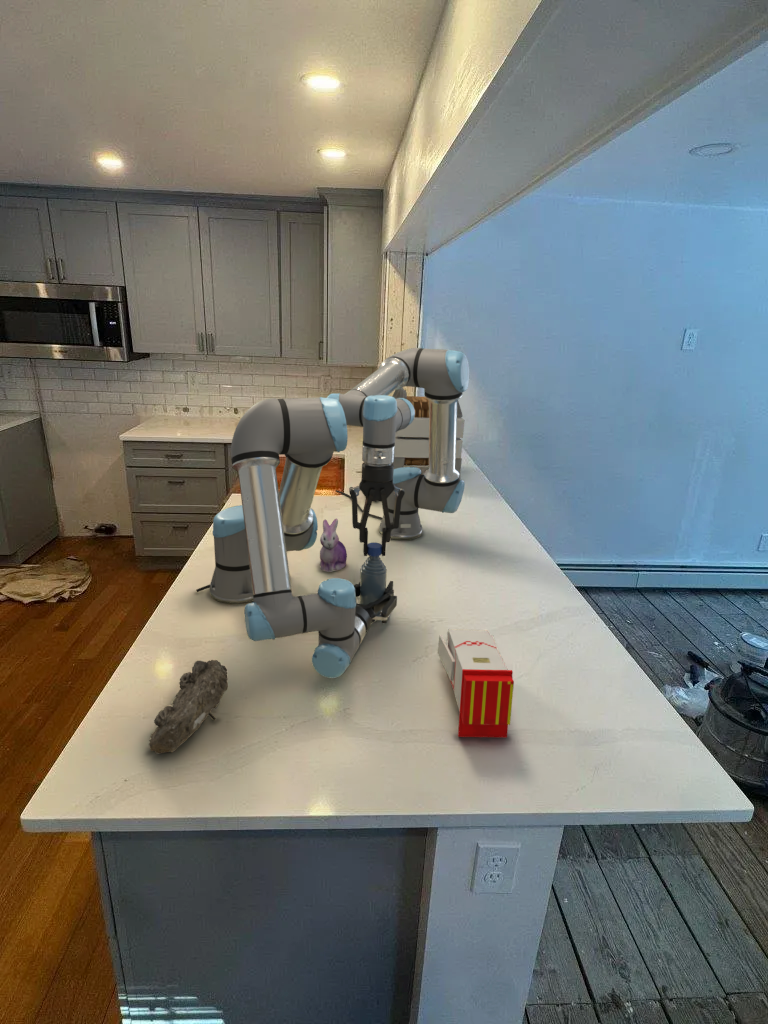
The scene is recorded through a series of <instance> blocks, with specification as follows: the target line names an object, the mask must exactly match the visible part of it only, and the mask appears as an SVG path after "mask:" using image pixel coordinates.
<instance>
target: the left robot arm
mask: <svg viewBox="0 0 768 1024" xmlns="http://www.w3.org/2000/svg"><path fill="white" fill-rule="evenodd" d="M348 439H349V438H348V425H347V424H346V418H345V414H344V411H343V408H342V405H341V404H340V402H339V401H338V400H336V399H334V398H327V397H323V396H319V397H296V398H294V397H292V398H275V397H273V398H266V399H263V400H260V401H258V402H256V403H254V404H253V405H252V406H250V407H249V408H248V410H246V411H245V413H244V414H243V415H242V416H241V418H240V419H239V421H238V423H237V424H236V428H235V430H234V433H233V436H232V440H231V444H230V445H231V446H230V461H231V467H232V469H233V470H234V471H236V472H237V475H238V482H239V491H240V498H241V499H240V500H241V505H234V506H230V507H227V508H224V509H222V510H221V511H219V512H217V514H216V515H215V516H214V517H213V520H212V537H213V549H214V563H215V564H214V570H213V573H212V577H211V580H210V583H209V584H207V585H204V586H202V587H198V588H197V589H196V590H195V591H196V593H199V592H202V591H205V590H207V589H209V594H210V596H211V598H212V599H213V600H215V601H217V602H220V603H224V604H229V605H230V604H231V605H238V604H239V605H240V604H245V606H244V624H245V631H246V634H247V636H248V639H249V640H251V641H252V642H261V641H268V640H269V641H270V640H273V641H274V640H276V639H280V638H285V637H290V636H296V635H301V634H308V633H314V632H318V642H317V643H318V644H317V646H316V647H315V648H314V650H313V653H312V656H311V665H312V667H313V668H314V671H316V673H317V674H319V675H320V676H322V677H324V678H328V679H336V678H339V677H341V676H342V675H343V674H344V673H345V672H346V671H347V669H348V668H349V666H350V665H351V662H352V661H353V658H354V656H355V655H356V653H357V651H358V649H359V647H360V646H361V644H362V642H363V640H364V638H365V636H366V635H367V634H368V632H369V629H370V628H371V626H372V624H373V623H375V622H376V621H381V623H382V624H387V623H388V618H389V617H390V615H391V614H392V612H393V611H394V610H395V608H396V607H397V605H398V596H397V595H394V593H395V590H394V581H393V580H390V581H389V582H388V584H387V585H386V589H385V591H384V596H382V597H381V598H379V599H378V600H376V601H374V602H373V603H372V602H370V603H369V604H367V605H362V604H359V602H357V598H360V581H359V582H358V583H355V584H353V583H352V582H351V581H349V580H348V579H345V578H340V577H331V578H328V579H326V580H323V581H321V582H320V583H319V585H318V589H317V592H315V593H309V594H302V595H295V596H293V593H292V581H291V575H290V566H289V560H288V552H300V551H303V550H307V549H311V548H312V547H313V546H314V544H315V543H316V540H317V537H318V527H319V525H318V524H319V523H318V519H317V518H318V517H317V514H316V511H315V510H314V509H313V508H312V503H313V500H314V497H315V492H316V489H317V487H318V483H319V479H320V476H321V473H322V469H323V467H325V466H326V465H328V463H330V461H331V460H332V458H333V455H334V453H336V452H337V453H340V452H344V451H345V450H346V449H347V447H348ZM280 455H282V456H283V455H284V457H285V460H284V461H285V462H284V467H283V472H282V477H281V481H280V485H279V484H278V476H277V467H278V466H280V463H281V459H280ZM381 609H382V610H381ZM380 610H381V611H380ZM378 611H380V613H379V614H377V615H376V613H377V612H378Z"/></svg>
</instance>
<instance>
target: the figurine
mask: <svg viewBox="0 0 768 1024" xmlns="http://www.w3.org/2000/svg"><path fill="white" fill-rule="evenodd" d="M338 524H339V518H334V520H333V521H332V522H331V523H330V524H329V522H328V520H327V519H325V518H324V519H323V521H322V534H321V535H320V539H319V542H320V544H321V548H320V550H319V559H320V562H319V566H320V571H322V572H327V573H329V572H330V573H332V572H335V571H336V572H337V571H341V570H342V569H343V568H346V565H347V559H348V554H347V553H348V552H347V549H346V546H345V544H343V542H342V541H341V540H340V538H339V535H338V534H337V528H338Z"/></svg>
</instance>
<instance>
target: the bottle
mask: <svg viewBox="0 0 768 1024" xmlns="http://www.w3.org/2000/svg"><path fill="white" fill-rule="evenodd" d="M359 569H360V570H359V572H360V573H359V582H360V596H359V597H358V598H359V601H358V604H362V605H367V604H369V603H370V602H372V603H373V602H374V601H376V600H378V599H379V598H381V597H382V596H384V591H385V589H386V588H387V573H388V570H387V565H386V564H385V563H384V562H383V560H382V559H381V557H380V556H369V555H368V556H367V558H366V560H365V561H364V562H363V563H362V564H361V566H360V568H359ZM381 610H382V609H381ZM381 610H380V611H381ZM380 611H378V612H377V613H376V615H377V614H379V613H380Z"/></svg>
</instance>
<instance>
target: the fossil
mask: <svg viewBox="0 0 768 1024" xmlns="http://www.w3.org/2000/svg"><path fill="white" fill-rule="evenodd" d="M228 679H229V678H228V669H227V667H226V666H225V665H223V664H222V663H221V662H220V661H218V660H217V659H210V660H208V661H203V660H196V661H195V662H194V663H193V666H192V667H191V671H187V672H185V673H183V674H182V675H181V676H180V678H179V682H178V684H179V690H178V691H177V694H176V695H175V698H174V699H173V701H172V705H166V706H164V708H163V709H161V710H159V712H158V713H157V715H156V716H155V718H154V720H153V724H154V725H155V726H157V727H156V728H155V729H154V731H153V732H152V733H150V736H149V737H150V739H149V740H148V741H149V743H148V747H149V750H150V751H151V752H155V754H164V753H169V752H171V753H174V752H175V751H177V749H178V748H179V747H180V746H181V745H182V744H183V743H185V742H186V741H187V740H188V739H189V738H190V737H191V736H192V735H193V734H194V733H195V732H196V731H198V730H199V729H200V727H201V726H202V723H203V722H204V721H206V720H207V718H208V717H210V719H212V721H216V720H217V718H216V717H215V715H213V714H212V713H211V712H212V710H214V709H216V708H217V707H218V705H219V704H220V702H221V700H222V698H223V696H224V694H225V693H226V692H227V690H228V688H229V683H228Z"/></svg>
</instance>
